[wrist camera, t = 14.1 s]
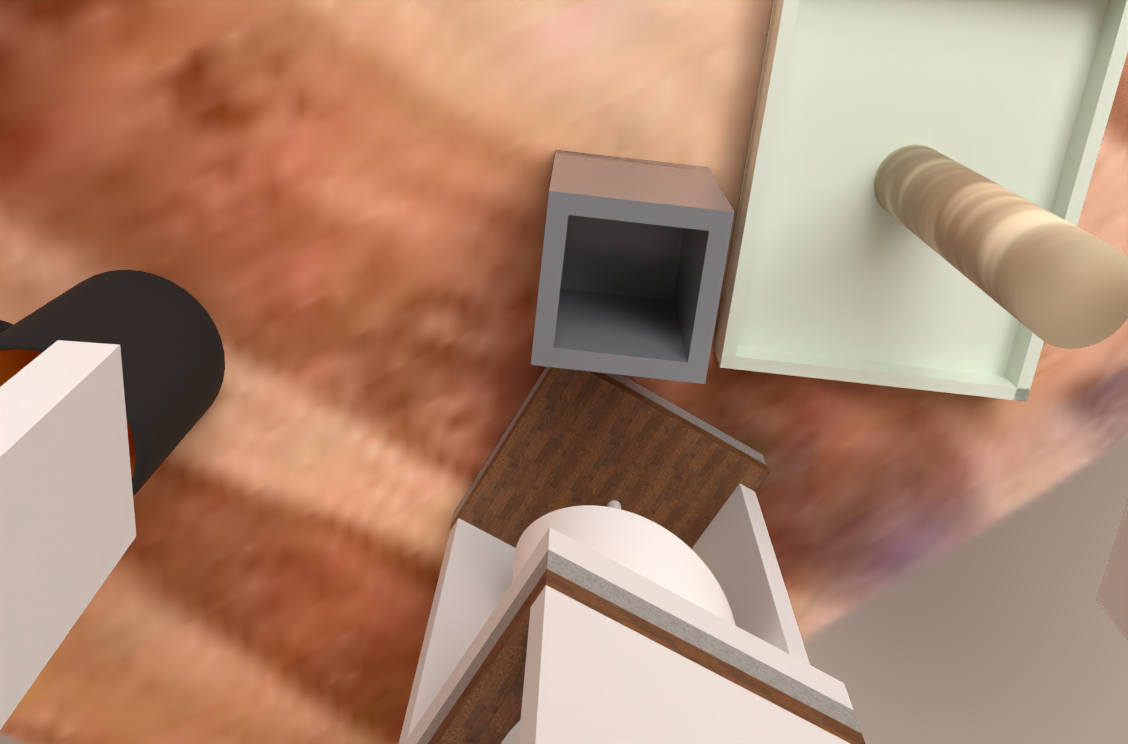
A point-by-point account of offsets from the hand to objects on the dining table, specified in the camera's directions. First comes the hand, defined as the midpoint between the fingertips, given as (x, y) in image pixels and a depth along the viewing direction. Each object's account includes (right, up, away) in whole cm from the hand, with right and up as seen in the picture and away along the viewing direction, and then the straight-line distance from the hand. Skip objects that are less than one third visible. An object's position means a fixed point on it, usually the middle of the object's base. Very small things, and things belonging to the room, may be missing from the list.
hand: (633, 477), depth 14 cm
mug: (-23, +3, +37) cm, 44 cm away
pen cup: (+2, +8, +35) cm, 36 cm away
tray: (+14, +10, +33) cm, 38 cm away
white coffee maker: (+1, -4, +39) cm, 40 cm away
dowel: (+14, +10, +33) cm, 37 cm away
